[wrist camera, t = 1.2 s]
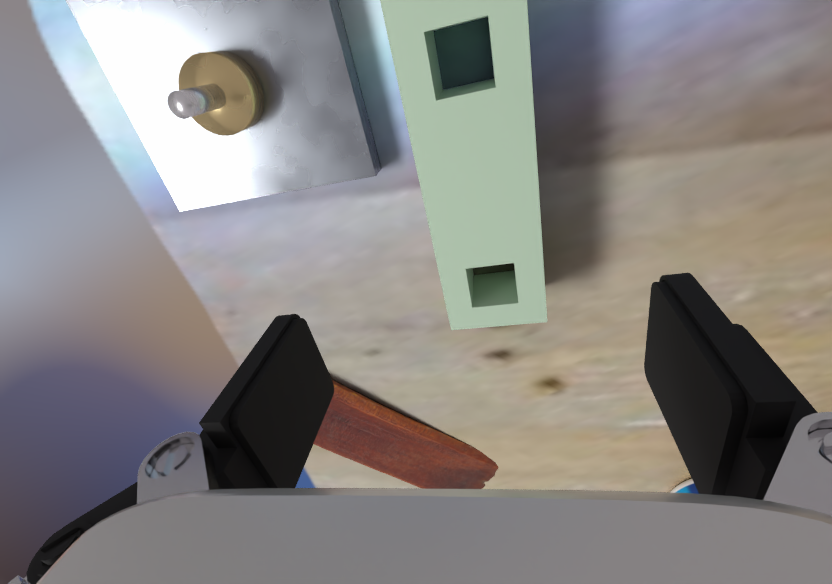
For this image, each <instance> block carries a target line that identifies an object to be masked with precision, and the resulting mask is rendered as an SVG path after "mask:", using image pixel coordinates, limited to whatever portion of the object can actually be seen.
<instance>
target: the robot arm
mask: <svg viewBox="0 0 832 584" xmlns="http://www.w3.org/2000/svg"><path fill="white" fill-rule="evenodd" d="M644 368H645V374H646V378H647V381H648V383H649V385H650V387H651V389H652V392H653V394H654V396H655V398H656V400H657V403H658V405H659V407H660V409H661V411H662V414H663V416H664V418H665V420H666V422H667V425H668V427H669V429H670V431H671V433H672V436H673V438H674V440H675V442H676V444H677V446H678V449H679V451H680V453H681V455H682V457H683V460H684V462H685V464H686V466H687V468H688V471H689V473H690V475H691V477H692V479H693V482H694V484H695V486H696V488H697V490H698V493H699V494H694V493H670V492H634V491H593V490H514V489H400V488H295V487H296V484H297V482H298V479H299V477H300V474H301V472H302V469H303V467H304V465H305V463H306V460H307V458H308V455H309V453H310V450H311V448H312V446H313V443H314V441H315V438H316V436H317V434H318V431H319V429H320V426H321V424H322V422H323V419H324V417H325V414H326V412H327V409H328V407H329V405H330V402H331V400H332V397H333V395H334V384H333V381H332V379H331V377H330V374H329V372H328V370H327V368H326V365H325V363H324V361H323V359H322V356H321V354H320V352H319V350H318V347H317V345H316V343H315V340H314V338H313V336H312V334H311V331H310V329H309V327H308V325H307V322H306V321H305V320H304V319H303V318H300V316H298V315H297V314H291V315H281V316H277V317H276V318H275V319H274V320H273V322H272V323H271V324H270V326H269V327H268V329H267V330H266V331H265V333H264V334H263V335H262V337H261V338H260V340H259V341H258V342H257V344H256V345H255V346H254V348H253V349H252V351H251V352H250V353H249V355H248V356H247V358H246V359H245V360H244V362H243V363H242V364H241V366H240V367H239V369H238V370H237V371H236V373H235V374H234V376H233V377H232V378H231V380H230V381H229V382H228V384H227V385H226V387H225V388H224V389H223V391H222V392H221V394H220V395H219V396H218V398H217V399H216V400H215V402H214V403H213V404H212V406H211V407H210V409H209V410H208V412H207V413H206V414H205V416H204V417H203V418H202V420H201V421H200V422H199V424H200V425H201V426H202V428H203V431H202V432H201V434H200V435H198V434H196V433H194V432H184V433H180V434H177V435H174V436H172V437H170V438H168V439H167V440H165V441H163V442H162V443H160V444H159V445H158V446H157V447H155V448H154V449H153V450H152V451H151V452H150V453H149V454H148V455H147V457H146V458H145V459H144V460H143V462H142V464H141V466H140V468H139V472H138V482H136V483H135V484H133V485H131V486H130V487H128V488H127V489H125V490H123V491H122V492H120V493H118V494H117V495H115V496H113V497H112V498H110V499H109V500H107V501H105V502H104V503H102V504H100V505H99V506H97V507H96V508H94V509H92V510H91V511H89V512H87V513H86V514H84V515H82V516H81V517H79V518H77V519H76V520H74V521H73V522H71V523H69V524H68V525H66V526H65V527H63V528H62V529H61V530H59V531H57V532H56V533H54V534H53V535H52V536H51V537H50V538H49V539H48V540H47V541H46V542H45V543H44V544H43V546H42V547H41V548H40V549H39V551H38V552H37V553H36V555H35V556H34V558H33V559H32V561H31V563H30V565H29V568H28V571H27V576H26V577H25V578H24V579H23V578H21V577H20V576H17V577H16V578H14V579H13V580H12V581H11V582H9V583H8V584H832V412H822V413H818V412H817V411H816V410H815V409H814V408H813V407H812V405H811V404H810V403H809V402H808V401H807V400H806V398H805V397H804V396H803V395H802V394H801V393H800V391H799V390H798V389H797V388H796V387H795V386H794V384H793V383H792V382H791V381H790V380H789V379H788V377H787V376H786V375H785V374H784V373H783V372H782V370H781V369H780V368H779V367H778V366H777V365H776V363H775V362H774V361H773V360H772V359H771V358H770V356H769V355H768V354H767V353H766V352H765V351H764V349H763V348H762V347H761V346H760V345H759V344H758V342H757V341H756V340H755V339H754V338H753V337H752V335H751V334H750V333H749V332H748V331H747V330H746V329H745V328H744V327H743V326H742V325H739V324H732V323H731V321H730V320H729V319H728V318H727V317H726V315H725V314H724V313H723V312H722V311H721V309H720V308H719V307H718V306H717V304H716V303H715V302H714V301H713V300H712V298H711V297H710V296H709V295H708V294H707V292H706V291H705V290H704V289H703V288H702V286H701V285H700V284H699V283H698V282H697V280H696V279H695V278H694V277H693V275H691V274H690V273H682V274H672V275H663V276H661V278H660V281H659V282H654V283H653V284H652V287H651V296H650V308H649V319H648V330H647V341H646V352H645V363H644Z"/></svg>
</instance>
